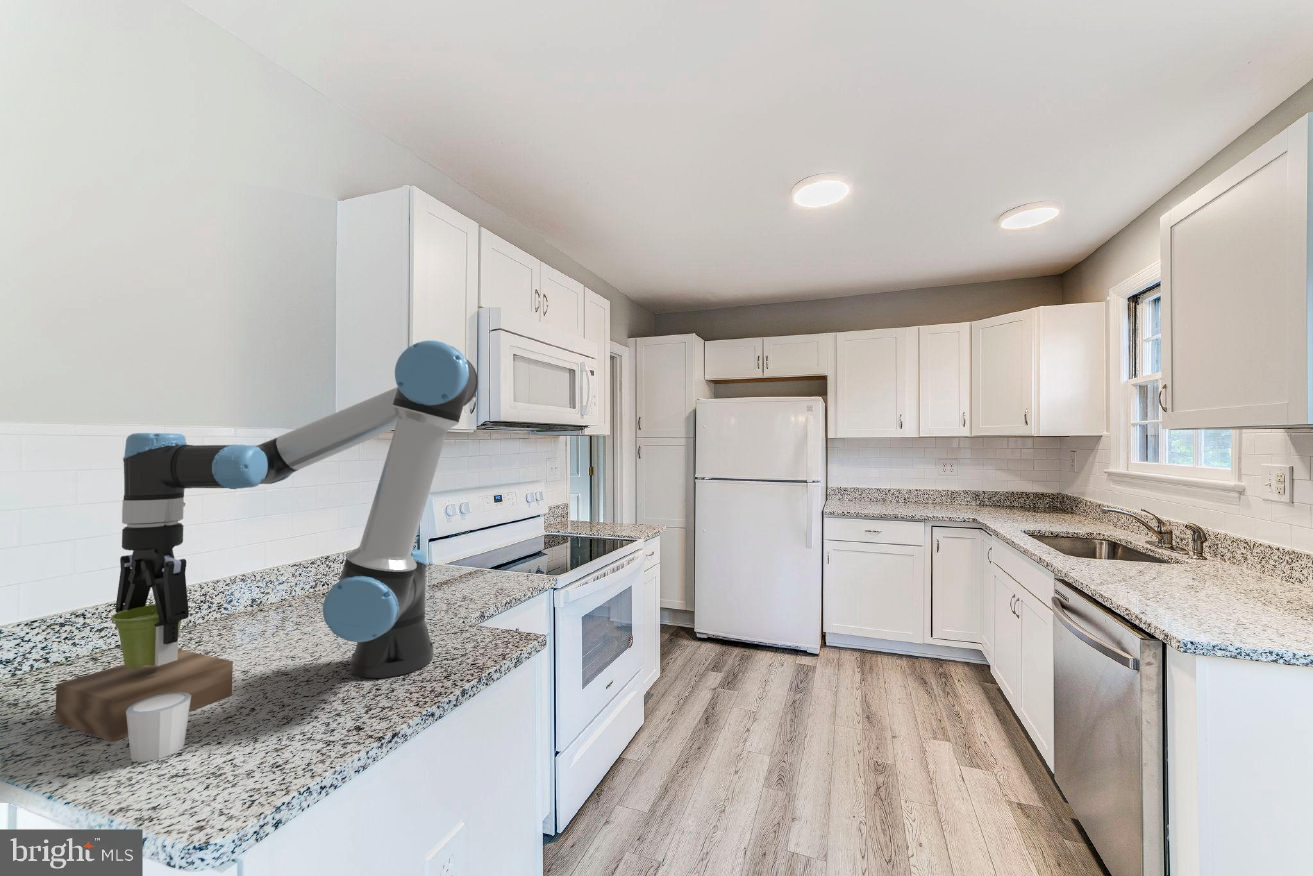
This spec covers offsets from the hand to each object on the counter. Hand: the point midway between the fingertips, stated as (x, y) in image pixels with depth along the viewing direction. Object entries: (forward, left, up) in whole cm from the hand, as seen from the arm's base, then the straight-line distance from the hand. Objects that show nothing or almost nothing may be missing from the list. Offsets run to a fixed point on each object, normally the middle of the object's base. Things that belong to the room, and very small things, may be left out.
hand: (150, 658), depth 89 cm
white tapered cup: (-17, +7, -8) cm, 20 cm away
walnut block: (0, 0, -8) cm, 8 cm away
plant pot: (0, 0, -1) cm, 1 cm away
